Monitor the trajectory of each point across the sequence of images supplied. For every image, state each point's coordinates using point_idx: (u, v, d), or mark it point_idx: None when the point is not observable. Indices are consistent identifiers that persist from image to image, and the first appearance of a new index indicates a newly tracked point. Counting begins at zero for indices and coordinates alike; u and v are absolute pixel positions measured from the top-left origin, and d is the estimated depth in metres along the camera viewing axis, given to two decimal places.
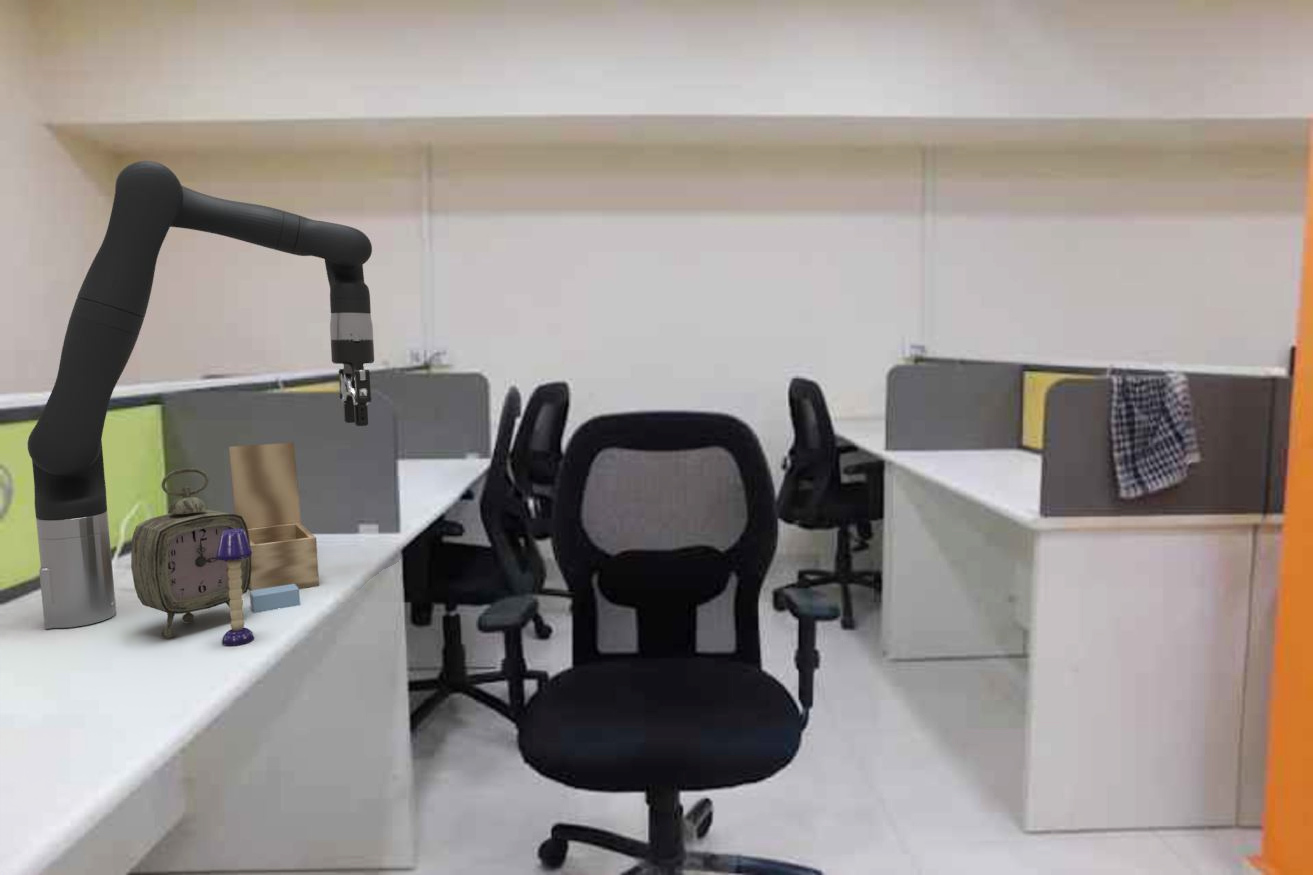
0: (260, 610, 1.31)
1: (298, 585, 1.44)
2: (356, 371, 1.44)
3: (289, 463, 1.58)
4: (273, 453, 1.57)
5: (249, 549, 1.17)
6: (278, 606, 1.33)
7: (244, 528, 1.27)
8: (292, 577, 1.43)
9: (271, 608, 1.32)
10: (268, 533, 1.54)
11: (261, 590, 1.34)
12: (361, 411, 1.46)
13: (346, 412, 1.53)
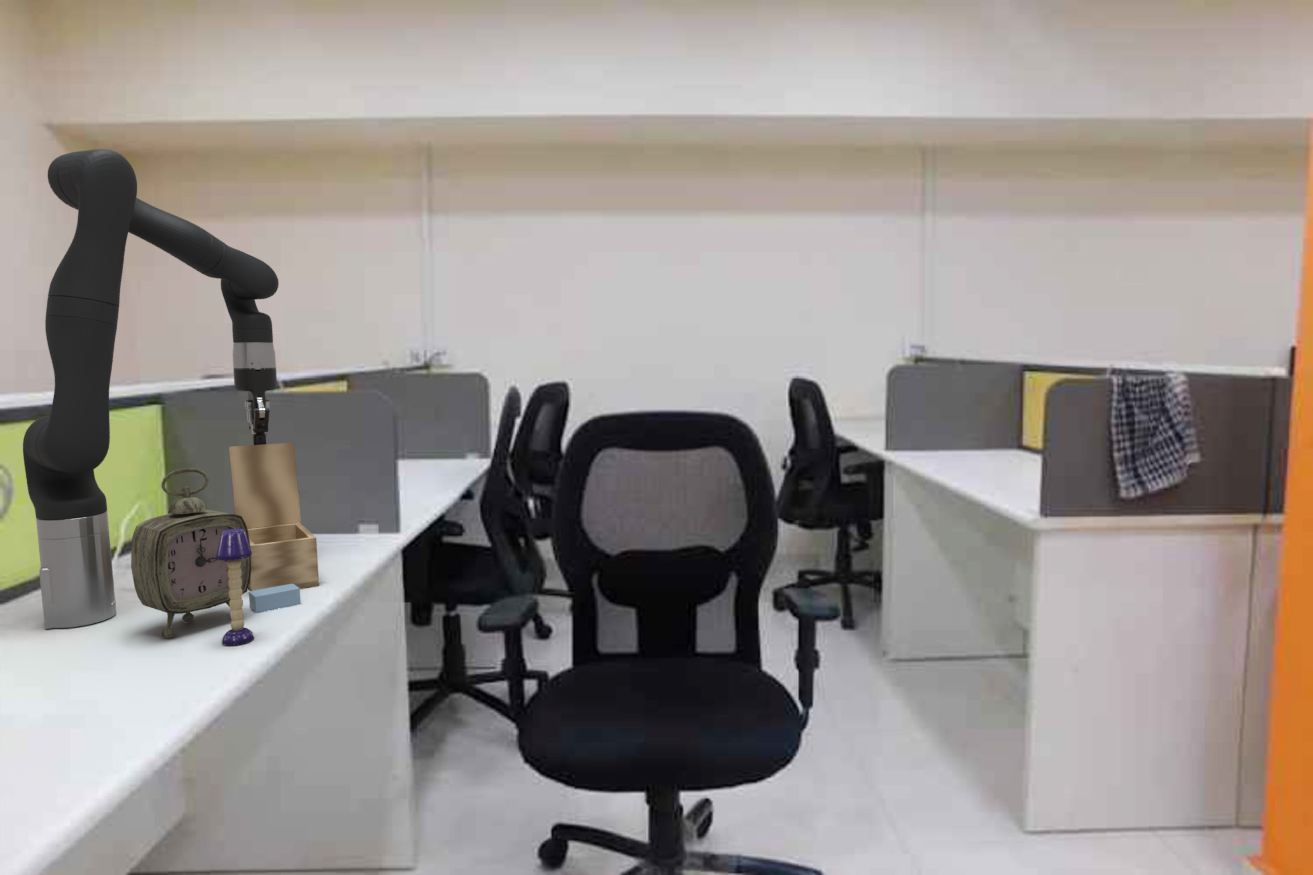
0: (262, 610, 1.31)
1: (298, 585, 1.44)
2: (256, 412, 1.51)
3: (289, 463, 1.58)
4: (273, 453, 1.57)
5: (249, 549, 1.17)
6: (279, 606, 1.33)
7: (244, 528, 1.27)
8: (292, 577, 1.43)
9: (272, 608, 1.32)
10: (268, 533, 1.54)
11: (261, 590, 1.34)
12: (259, 440, 1.56)
13: None
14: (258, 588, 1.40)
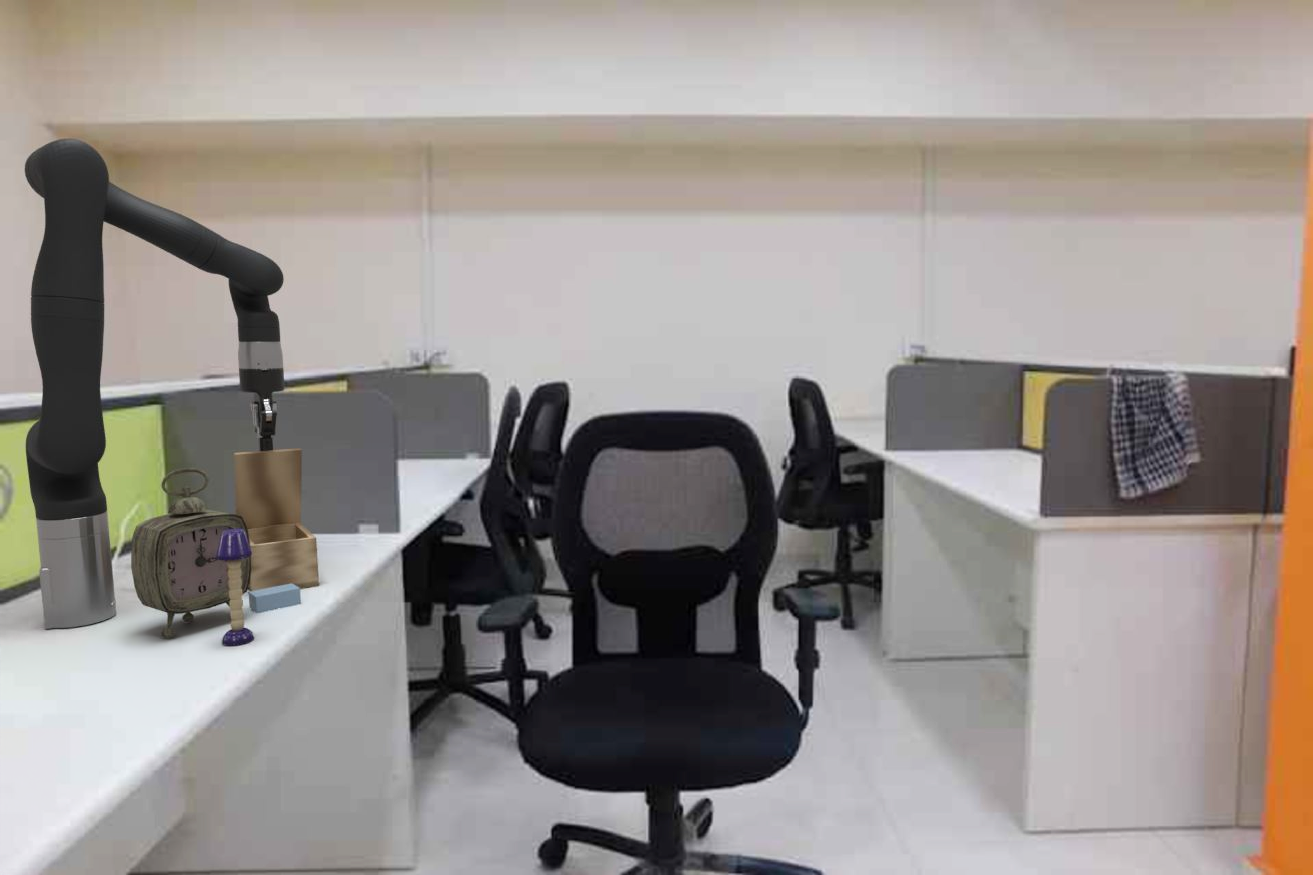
0: (262, 610, 1.31)
1: (298, 585, 1.44)
2: (263, 415, 1.44)
3: (295, 469, 1.53)
4: (279, 460, 1.51)
5: (249, 549, 1.17)
6: (280, 606, 1.33)
7: (244, 528, 1.27)
8: (292, 577, 1.43)
9: (273, 608, 1.32)
10: (268, 533, 1.54)
11: (260, 591, 1.34)
12: (266, 444, 1.49)
13: None
14: (258, 588, 1.40)
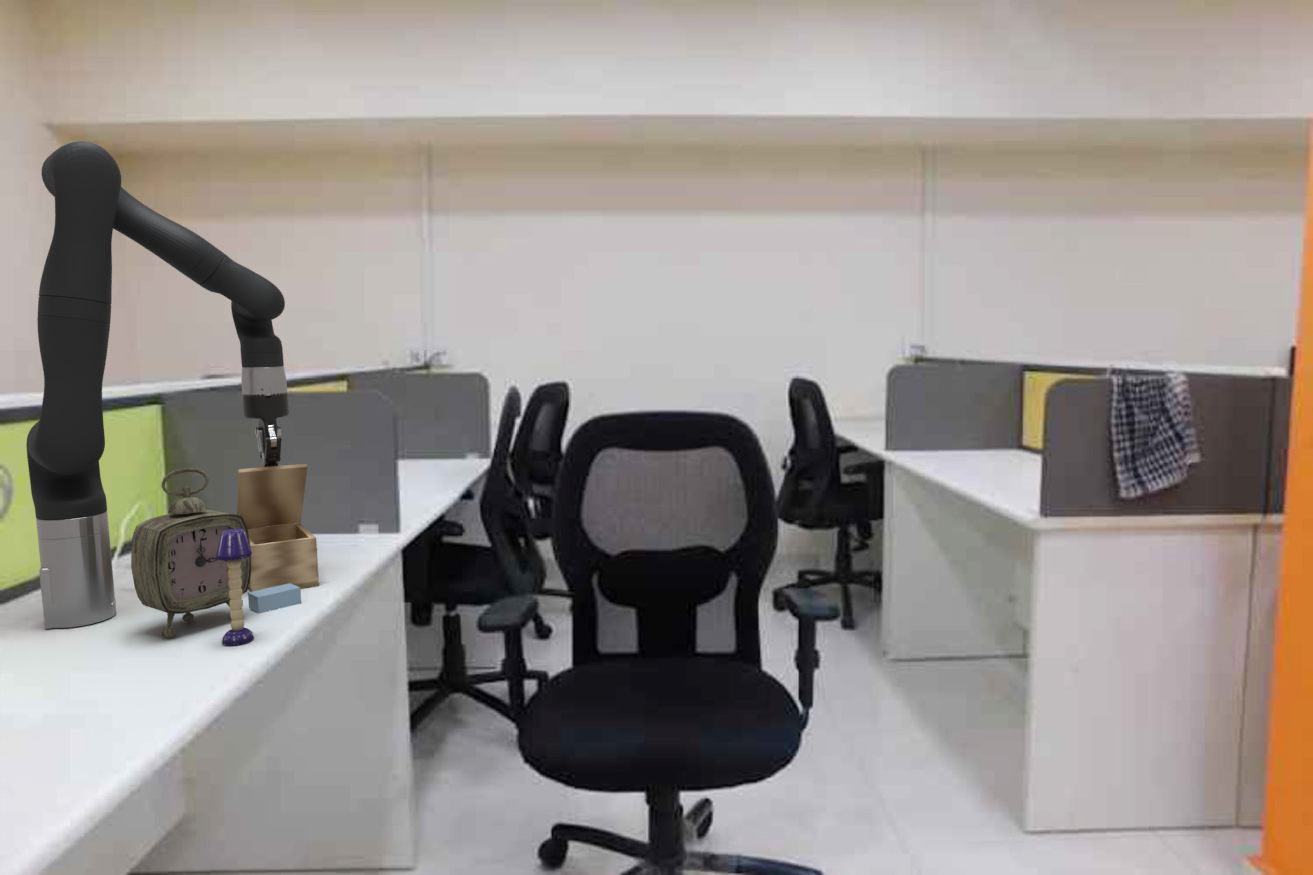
0: (264, 610, 1.31)
1: (298, 585, 1.44)
2: (267, 441, 1.43)
3: (299, 482, 1.50)
4: (283, 475, 1.47)
5: (249, 549, 1.17)
6: (281, 605, 1.33)
7: (244, 528, 1.27)
8: (292, 577, 1.43)
9: (274, 608, 1.32)
10: (268, 533, 1.54)
11: (260, 591, 1.34)
12: None
13: None
14: (258, 588, 1.40)
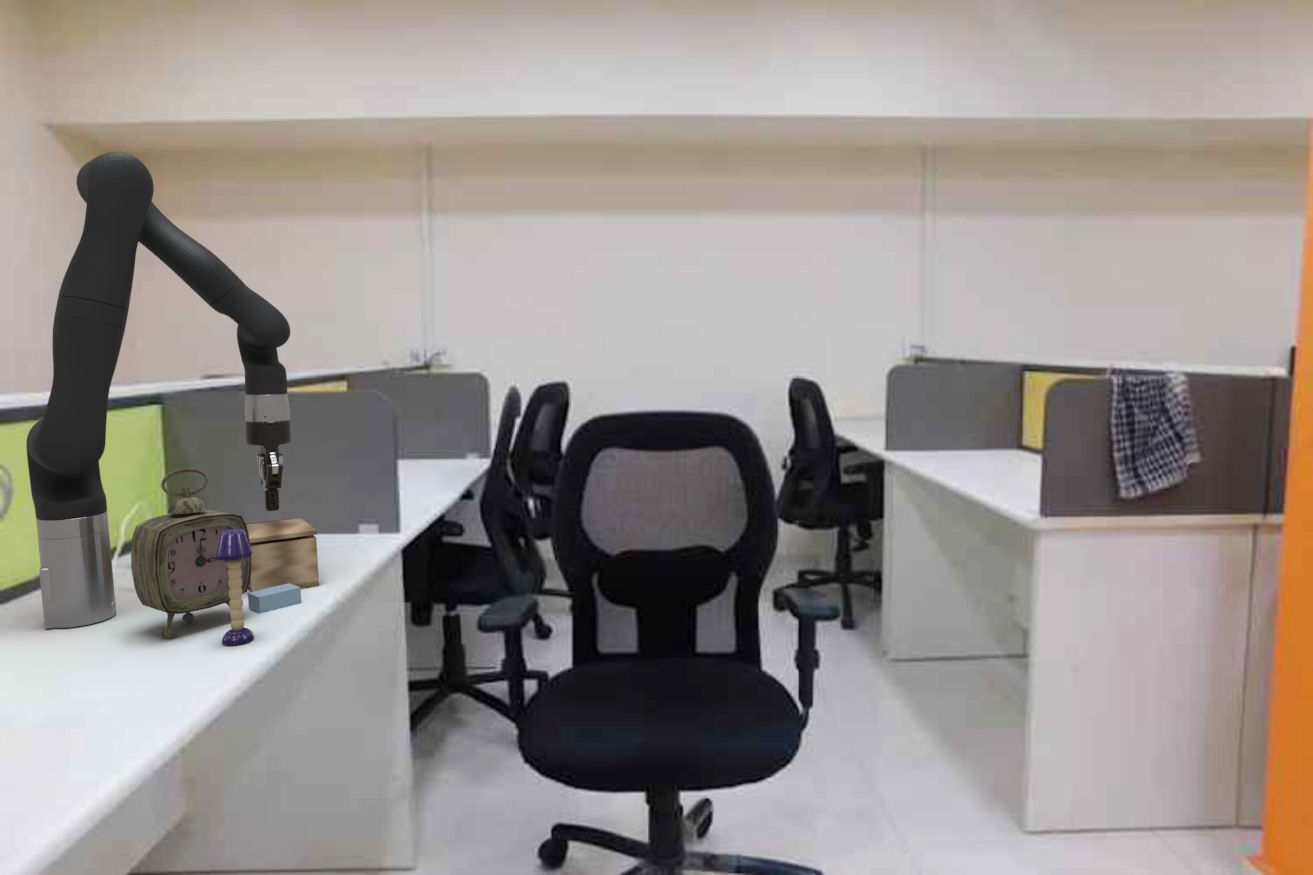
0: (265, 610, 1.31)
1: (298, 585, 1.44)
2: (269, 468, 1.43)
3: None
4: None
5: (249, 549, 1.17)
6: (281, 605, 1.33)
7: (244, 528, 1.27)
8: (292, 577, 1.43)
9: (275, 608, 1.32)
10: None
11: (260, 591, 1.33)
12: (271, 497, 1.48)
13: None
14: (258, 588, 1.40)
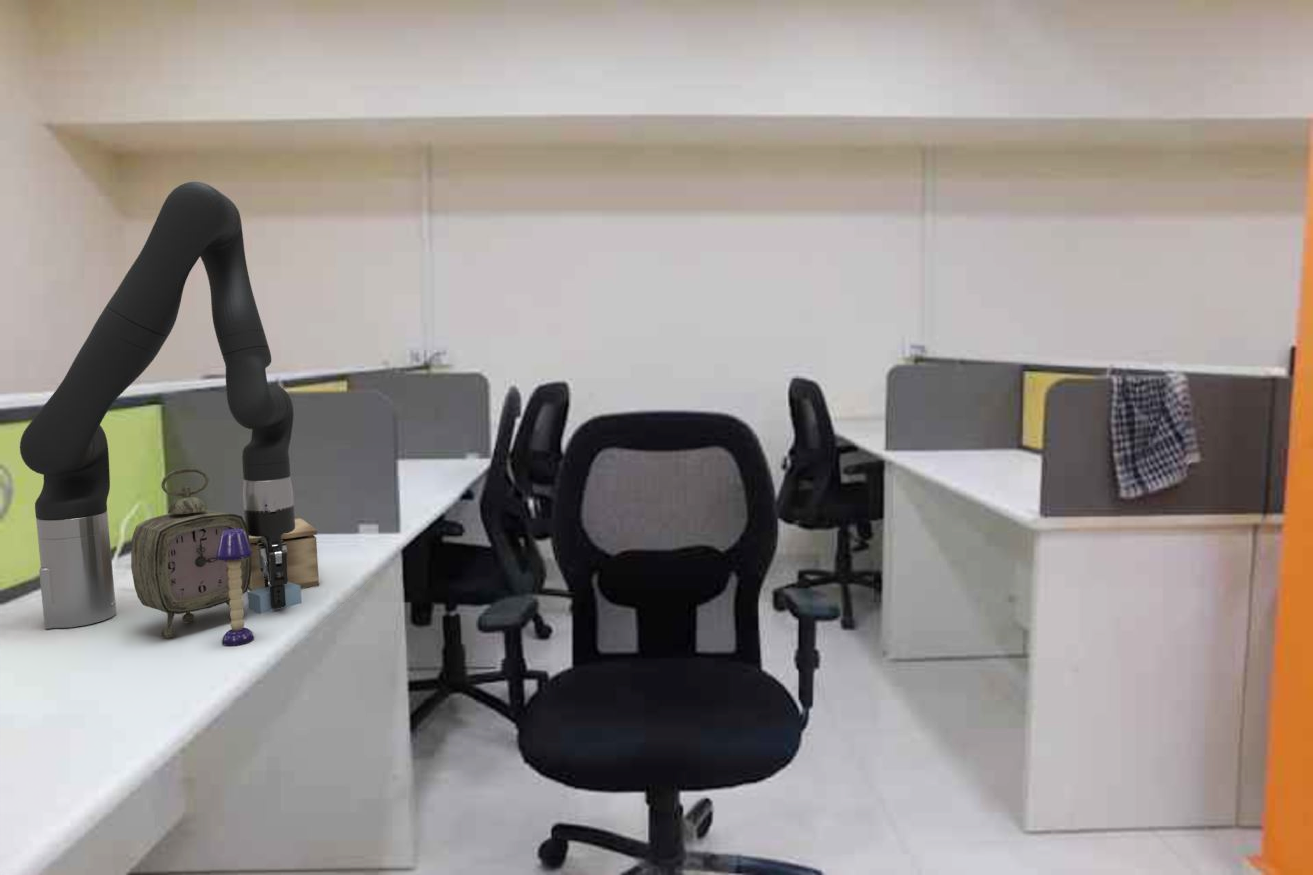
0: (266, 609, 1.31)
1: None
2: (271, 555, 1.27)
3: None
4: None
5: (249, 549, 1.17)
6: None
7: (244, 528, 1.27)
8: (292, 577, 1.43)
9: None
10: None
11: (260, 590, 1.33)
12: (277, 593, 1.31)
13: None
14: (258, 588, 1.40)
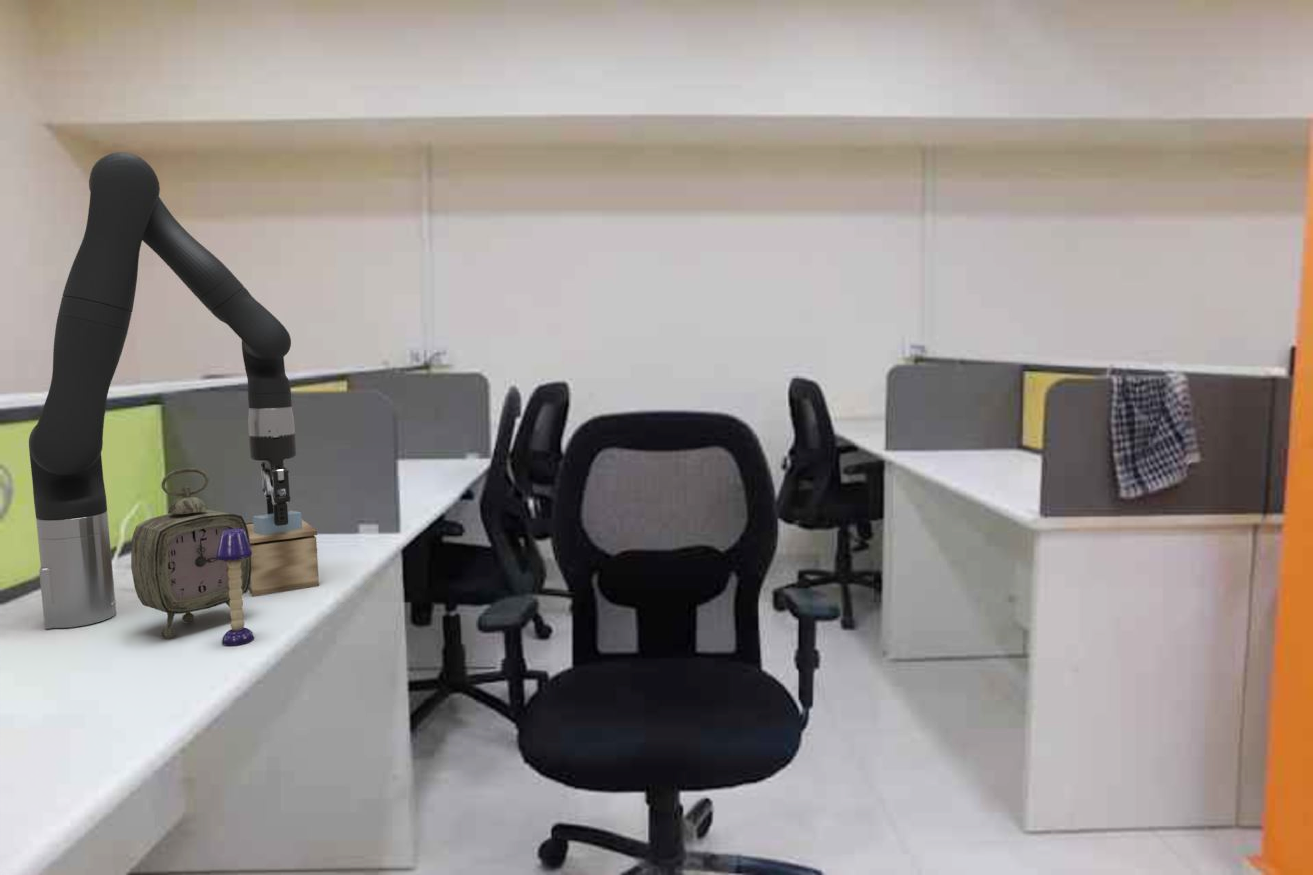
0: (268, 531, 1.43)
1: (298, 585, 1.44)
2: (274, 471, 1.38)
3: None
4: None
5: (249, 549, 1.17)
6: (284, 528, 1.45)
7: (244, 528, 1.27)
8: (292, 577, 1.43)
9: (278, 530, 1.44)
10: None
11: (264, 515, 1.45)
12: (280, 511, 1.41)
13: (269, 507, 1.48)
14: (258, 588, 1.40)
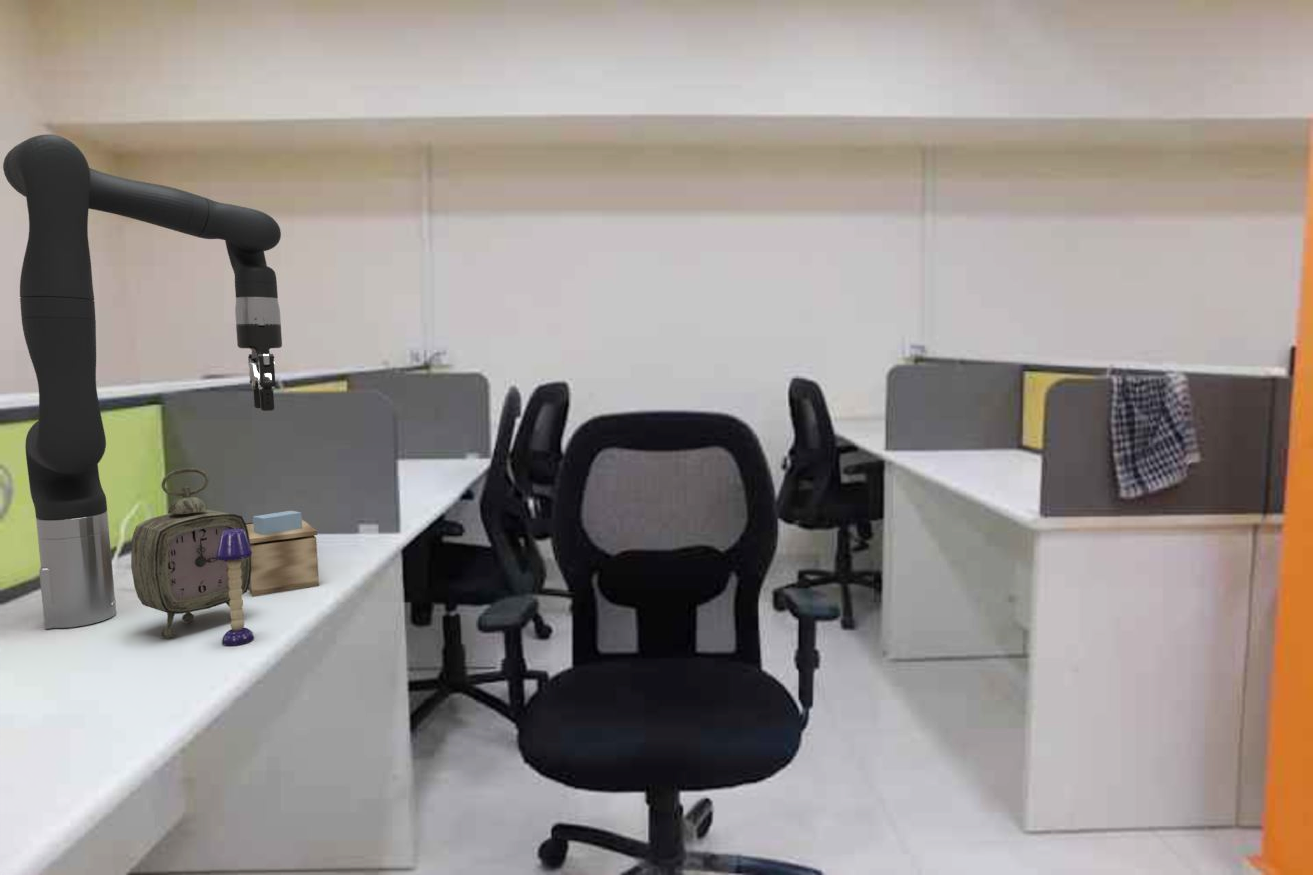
0: (268, 531, 1.43)
1: (298, 585, 1.44)
2: (259, 355, 1.43)
3: None
4: None
5: (249, 549, 1.17)
6: (284, 528, 1.45)
7: (244, 528, 1.27)
8: (292, 577, 1.43)
9: (278, 530, 1.44)
10: None
11: (264, 515, 1.45)
12: (266, 396, 1.45)
13: (255, 397, 1.53)
14: (258, 588, 1.40)
